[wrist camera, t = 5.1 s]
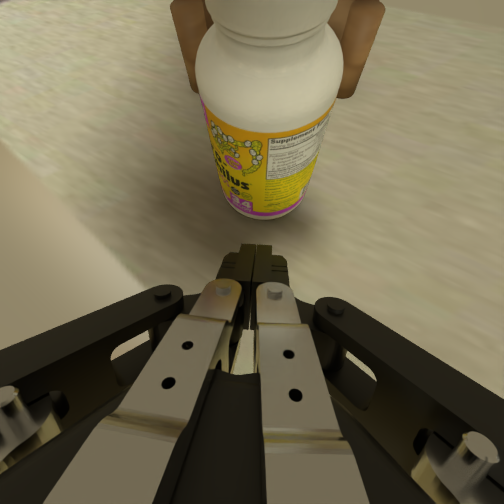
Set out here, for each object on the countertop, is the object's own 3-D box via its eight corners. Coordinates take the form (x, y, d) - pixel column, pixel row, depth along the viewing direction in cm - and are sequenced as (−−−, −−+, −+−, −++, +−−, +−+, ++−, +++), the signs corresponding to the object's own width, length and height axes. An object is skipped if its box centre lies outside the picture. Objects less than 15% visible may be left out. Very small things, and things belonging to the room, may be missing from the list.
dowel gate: (353, 80, 24) (383, -2, 18) (355, 99, 23) (387, 19, 17) (193, 75, 24) (173, -5, 19) (189, 93, 24) (167, 15, 18)
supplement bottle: (210, 168, 21) (142, -76, 9) (283, 142, 21) (314, -118, 9) (241, 237, 19) (209, 39, 6) (321, 204, 19) (425, -27, 7)
